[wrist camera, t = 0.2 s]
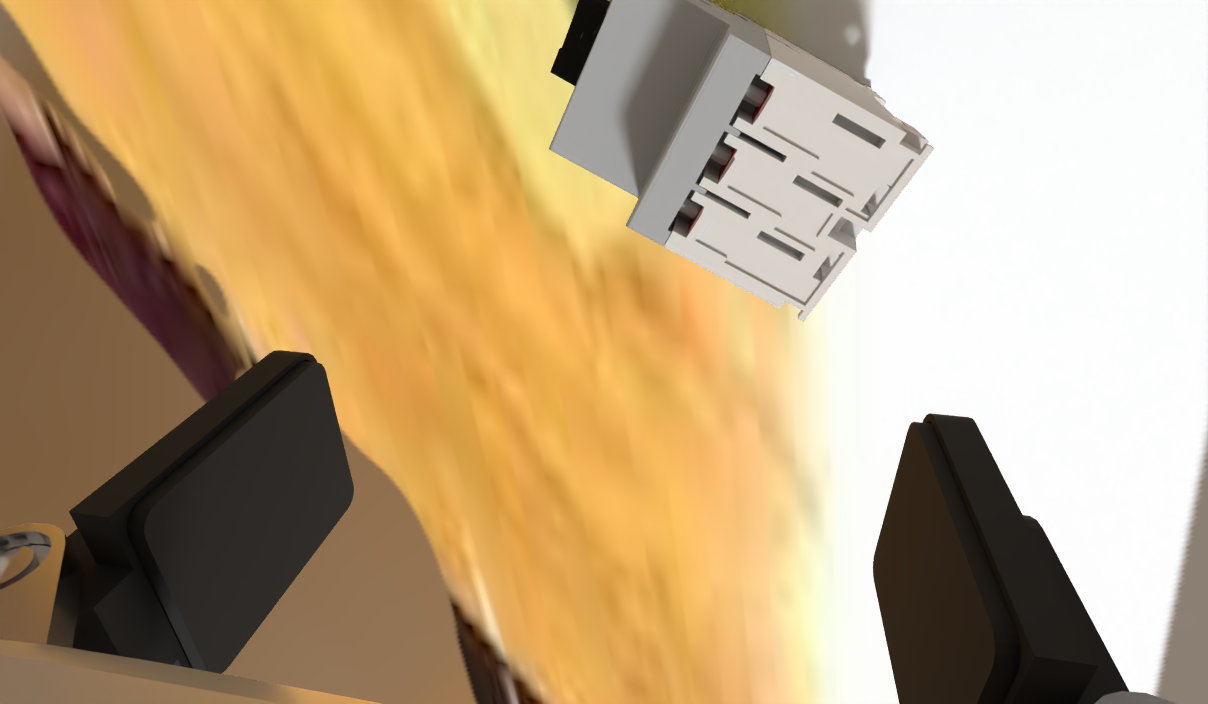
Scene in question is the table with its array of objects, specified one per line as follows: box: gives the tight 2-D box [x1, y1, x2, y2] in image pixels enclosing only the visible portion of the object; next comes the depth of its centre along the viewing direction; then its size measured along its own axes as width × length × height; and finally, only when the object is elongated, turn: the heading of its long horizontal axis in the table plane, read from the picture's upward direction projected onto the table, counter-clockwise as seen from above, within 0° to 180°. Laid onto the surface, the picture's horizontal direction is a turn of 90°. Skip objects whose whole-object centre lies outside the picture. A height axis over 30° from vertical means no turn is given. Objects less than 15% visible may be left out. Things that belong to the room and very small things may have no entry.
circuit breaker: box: [549, 0, 934, 322], centre depth 30 cm, size 8×14×15 cm, turn 64°
